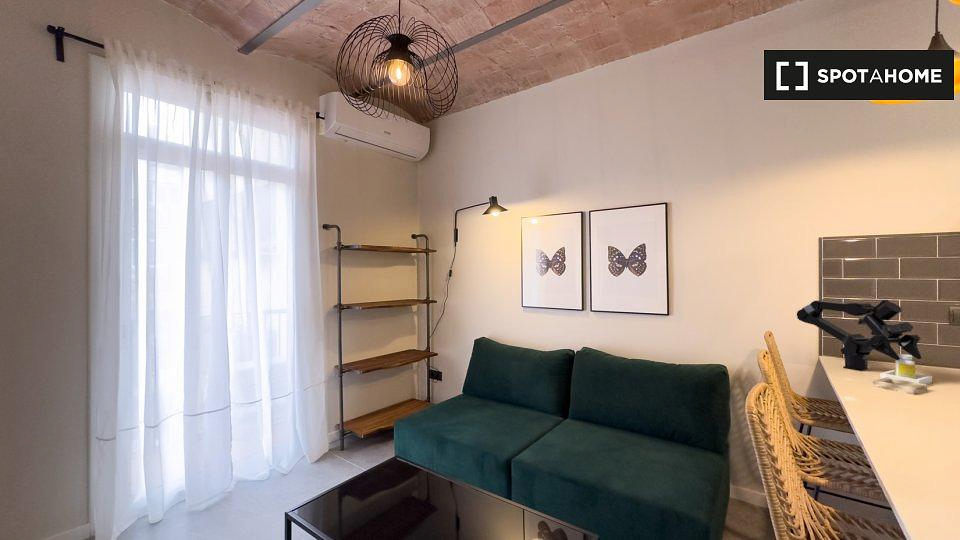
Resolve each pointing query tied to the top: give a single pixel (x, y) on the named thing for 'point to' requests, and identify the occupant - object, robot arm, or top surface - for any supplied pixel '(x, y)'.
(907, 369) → the supplement bottle
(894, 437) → the top surface
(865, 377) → the top surface
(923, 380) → the plastic tray
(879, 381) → the wooden square frame
